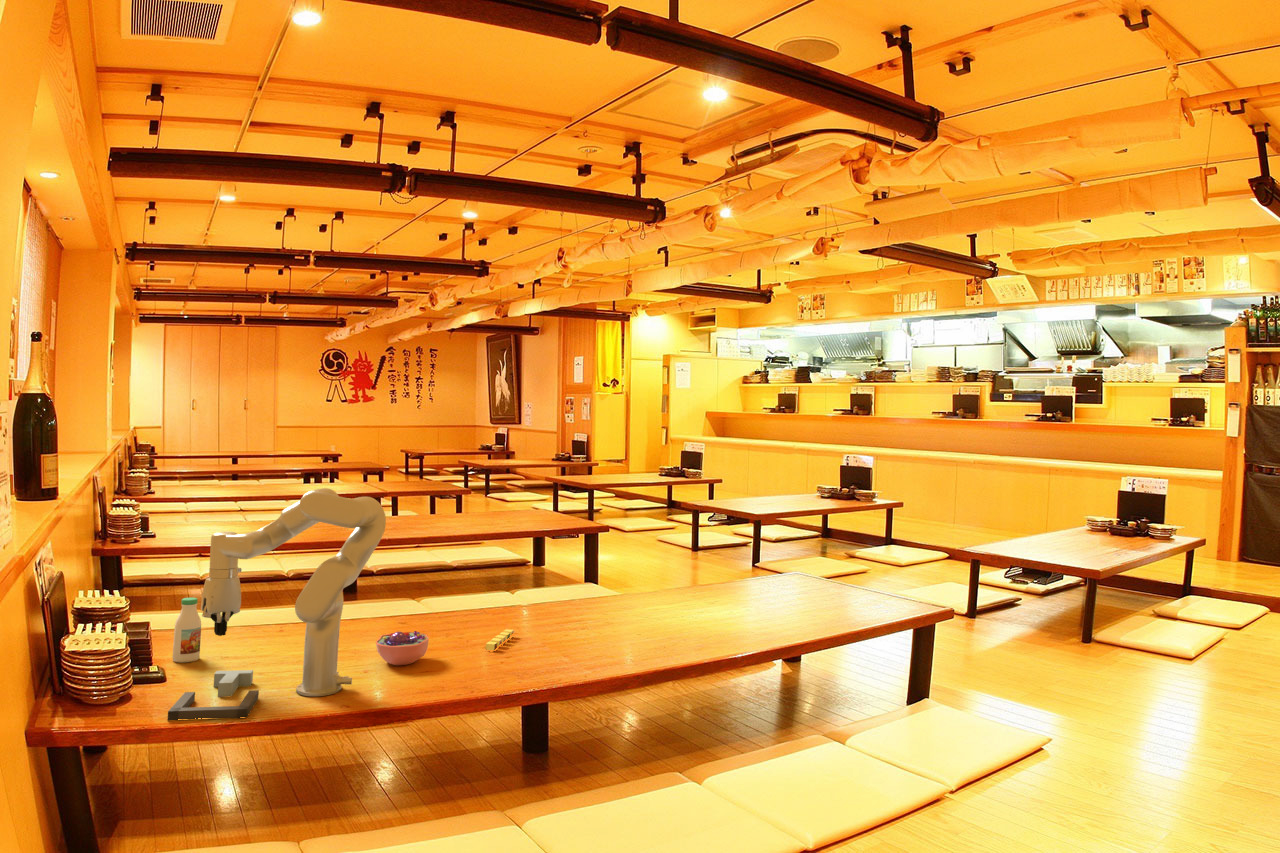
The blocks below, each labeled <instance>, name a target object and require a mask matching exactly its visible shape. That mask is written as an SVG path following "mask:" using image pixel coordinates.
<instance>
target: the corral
mask: <svg viewBox="0 0 1280 853" xmlns="http://www.w3.org/2000/svg"><path fill="white" fill-rule="evenodd" d="M259 692H260V691H259V689H257V690H255V689H254V690H251V689H250V690H248V692H247V693H246V695H245V696H244V698H243V699H242V700H241V702H240V704H239V705H234V706H233V705H232V706H230V705H229V706H199V707H198V706H195V707H193V706H192V705H193V703H194V702H195V700H196V699H195V698H196V692H195V691H186V692H184V693H183V694H182V695H181V697H179V699H178V700H176V702H174V704H173V705H172V707H170V708H169V709H168V711H167V720H178V719H195V718H196V719H198V718H201V719H202V718H238V719H241V718H240V717H247V716H249V715H250V714H251V712H252V710H253V709H254V707H255V705H256V704H257V701H258V700H259V694H260V693H259ZM255 703H256V704H255ZM191 704H192V705H191ZM191 706H192V707H191ZM253 706H254V707H253ZM250 711H251V712H250ZM248 714H249V715H248ZM247 718H248V717H247Z"/></svg>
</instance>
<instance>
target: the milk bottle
mask: <svg viewBox="0 0 1280 853" xmlns="http://www.w3.org/2000/svg"><path fill="white" fill-rule="evenodd" d="M198 599H199V598H197V597H184V598H182V599H181V610H180V612H179V614H178V616H177V618H176V621H175V624H174V633H173V646H172V661H173V662H175V663H192V662H195V661H198V660H199V658H200V656H201V655H200V654H201V641H202V640H201V638H202V637H201V636H202V620H201V617H200V615H199V613H198V607H197V606H198Z"/></svg>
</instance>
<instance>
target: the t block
mask: <svg viewBox="0 0 1280 853" xmlns="http://www.w3.org/2000/svg"><path fill="white" fill-rule="evenodd" d="M253 680H254V670H253V669H250V670H249V669H248V670H247V669H246V670H244V669H242V670H241V669H239V670H216V671H215V672H214V676H213V688H218V689H217V697H218V698H221V697H222V698H223V697H228V696H230V697H233V695H234V693H235V692H236V690H237V689H238V688H239V686H243V687H251V686H252V685H253ZM251 684H252V685H251ZM228 698H229V697H228Z"/></svg>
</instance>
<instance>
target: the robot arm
mask: <svg viewBox="0 0 1280 853" xmlns="http://www.w3.org/2000/svg"><path fill="white" fill-rule="evenodd" d="M386 521H387V518H386V513H385V511H384V508H383V506H382V504H381V503H380V502H379V501H378V500H376V499H375V498H373V497H371V496H358V497H355V498H349V497H343V496H340V495H339V494H338V493H337V492H336V491H335V490H333V489H331V488H327V487H326V488H325V487H324V488H318V489H317V488H316V489H312V490H309V491H307V492H305V493H304V494H303V495H302V497H301V498H300V500H298V501H297V502H295V503H293V504H291V505H289V506H288V507H286V508H284V509H282V510H281V512H280V516H279V517H278V518H277V519H275V520H274V521H272V522H270V523H269V524H266V525H265V526H263V527H261V528H260V529H257V530H254V531H250V532H246V533H242V534H238V532H234V531H218V532H215V533H213V534H212V535H211V537H210V547H209V548H210V550H209V551H210V553H209V554H210V555H209V571H208V572H209V573H208V578H206V579H205V581H204V585H203V588H202V594H201V600H200V602H201V603H200V610H201V611H202V614H201V616H202V617H203V618H205V619H206V618H207V619H211V620H212V621H213V622H214V626H213V627H214V628H213V631H214V634H215V636H218V637H222V636H226V634H227V632H228V631H227V630H228V623H229V620H230V619H231V617H233V615H236V614H238V613H240V612H241V609H240V608H241V606H242V589H241V588H242V586H241V582H240V581H241V580H240V577H239V576H238V575H239V573H242V568H241V567H239V559H240V560H249V559H253V558H256V557H259V556H262V555H265V554H267V553H269V552H271V551H272V550H275V549H276V548H278V547H279V546H282V545H283V544H285V543H287V542H289V541H290V540H291V539H293V538H295V537H296V536H298V535H300V534H301V533H302V532H305V531H306V530H308V529H310V528H311V527H313V526H315V525H316V524H318V523H324V524H328V525H333V526H337V527H341V528H345V529H346V528H347V529H354V530H353V531H352V532H351V533H350V535H349V536H348V538H347V539H346V540H345V542H344V543H343V545H342V547H340V549H339V551H338V552H337V553H336V555H334V556H333V557H331V558H327V559H326V560H325V561H323V562H321V563H320V565H318V567H317V568H316V569H315V571H314V572H313V574H312V575H311V576H310V578H309V580H308V581H307V583H306V584H305V586H303V589H302V590H301V592H300V593H299V595H298V597H297V599H296V601H295V604H294V610H295V615H296V617H297V619H299V620H300V621H301V622H304V623H306V624H305V634H304V635H305V636H304V648H303V649H304V650H303V667H302V682H301V683H299V684H298V685H297V686H296V688H295V690H296V691H295V692H296V693H297V694H298V695H301V696H306V697H324V696H330V695H333V694H337V693H338V692H340V691H341V690H342V685H352V684H353V677H349V676H348V675H345V676H341V675H339V674H340V673H339V671H338V661H339V660H338V659H339V658H338V657H339V645H340V644H339V642H340V641H339V640H340V629H341V628H340V627H341V618H342V613H343V609H344V608H343V607H344V594H343V592H342V591H343V590H344V589H345V588H347V587H348V586H350V585H352V584H353V583H355V581H356V580H357V579H358V577H359V576H360V574H361V572H362V571H363V569H364V567H366V564H367V562H368V561H369V559H370V558H371V557H372V555H373V553H374V552H375V550H376V549H377V547H378V545H379V543H380V542H381V540H382V538H383V536H384V532H385V529H386V526H387V522H386Z"/></svg>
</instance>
